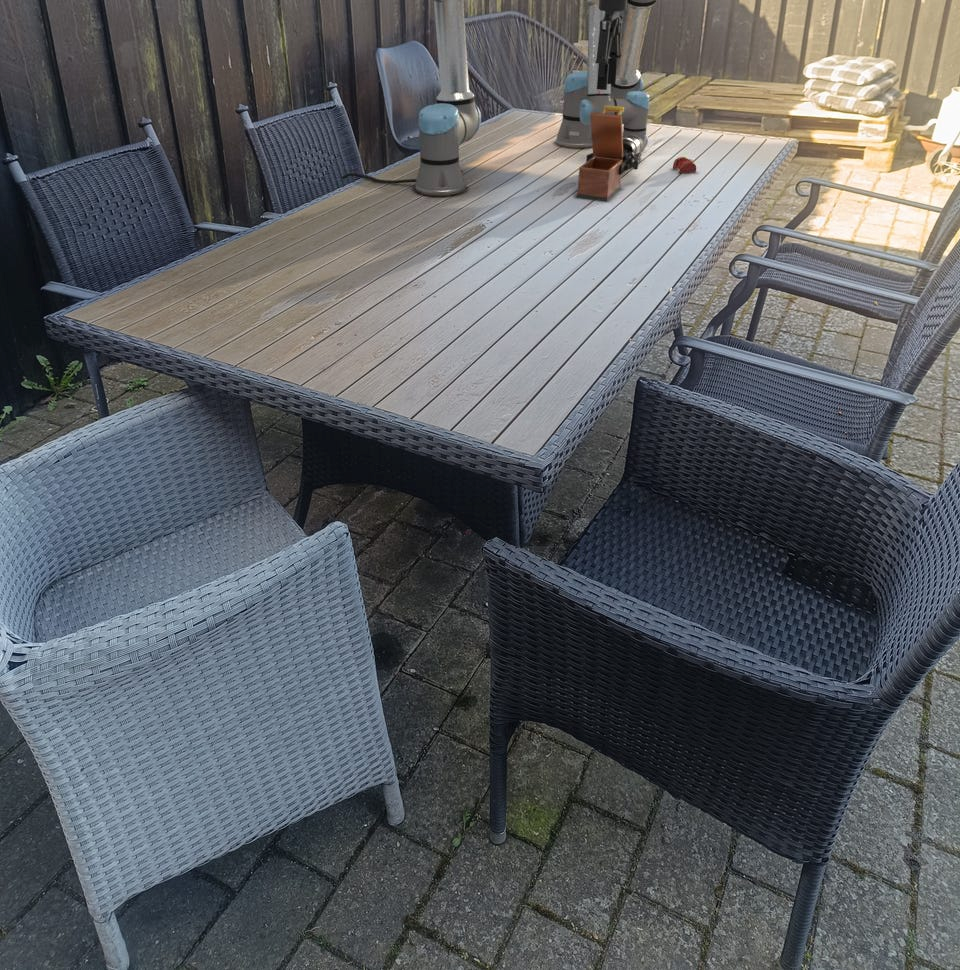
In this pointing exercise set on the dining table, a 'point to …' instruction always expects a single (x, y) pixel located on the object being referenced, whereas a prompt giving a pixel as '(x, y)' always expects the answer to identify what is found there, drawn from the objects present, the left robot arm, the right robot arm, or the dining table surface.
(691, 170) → the dental model
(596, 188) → the chest
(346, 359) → the dining table surface
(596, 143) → the lid
